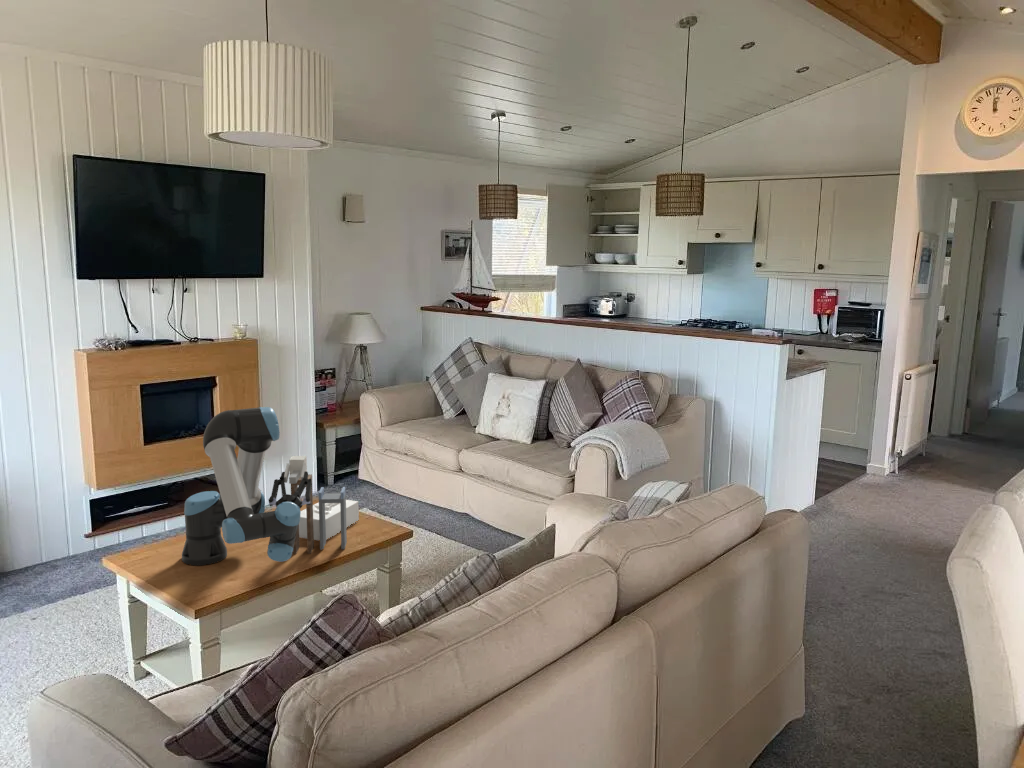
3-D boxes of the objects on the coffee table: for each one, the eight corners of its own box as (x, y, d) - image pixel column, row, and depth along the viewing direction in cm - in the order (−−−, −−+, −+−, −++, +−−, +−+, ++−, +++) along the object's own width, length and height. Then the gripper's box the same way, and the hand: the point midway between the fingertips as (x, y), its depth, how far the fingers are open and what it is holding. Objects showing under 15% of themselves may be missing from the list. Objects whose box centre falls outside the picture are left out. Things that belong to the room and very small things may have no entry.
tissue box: (292, 536, 300) (291, 510, 298) (328, 516, 323) (328, 491, 321) (324, 542, 295) (323, 514, 293) (358, 521, 318) (358, 496, 316)
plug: (285, 483, 259) (284, 466, 258) (292, 472, 272) (291, 456, 271) (300, 483, 259) (299, 466, 258) (306, 472, 273) (306, 455, 272)
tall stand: (292, 553, 282) (290, 480, 277) (296, 546, 289) (293, 474, 284) (311, 553, 282) (308, 479, 278) (313, 546, 289) (311, 474, 285)
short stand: (320, 549, 286) (318, 492, 283) (322, 542, 293) (321, 487, 289) (344, 549, 287) (343, 492, 283) (346, 542, 294) (345, 486, 290)
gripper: (259, 525, 250) (271, 473, 268) (316, 524, 252) (324, 473, 270) (256, 510, 245) (268, 458, 263) (313, 509, 247) (322, 458, 265)
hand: (296, 466), depth 266 cm, fingers closed on plug, 5 cm apart
